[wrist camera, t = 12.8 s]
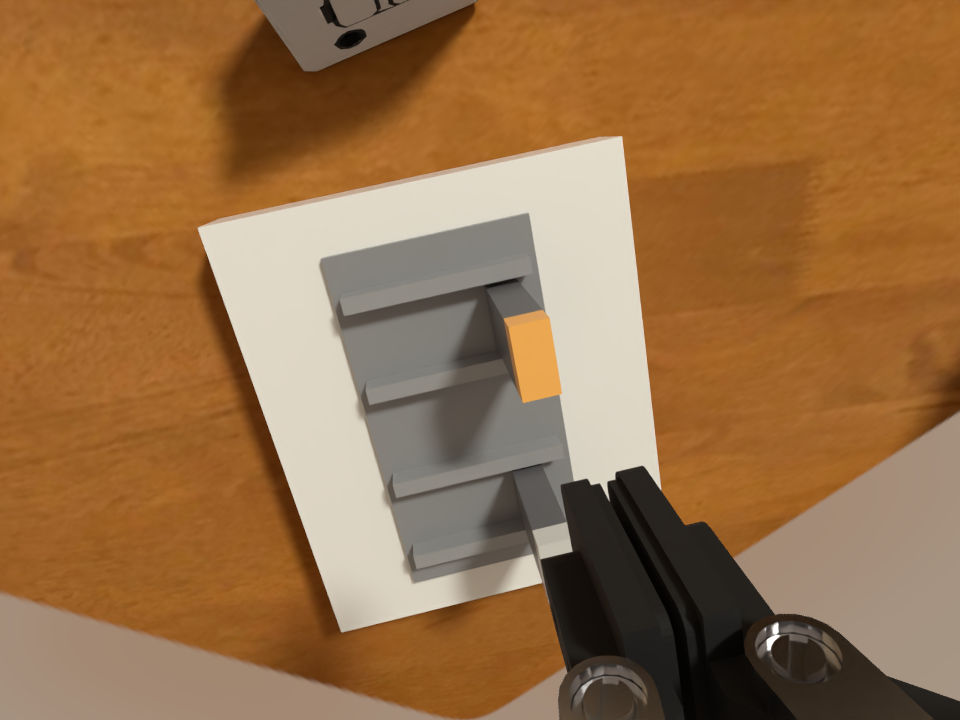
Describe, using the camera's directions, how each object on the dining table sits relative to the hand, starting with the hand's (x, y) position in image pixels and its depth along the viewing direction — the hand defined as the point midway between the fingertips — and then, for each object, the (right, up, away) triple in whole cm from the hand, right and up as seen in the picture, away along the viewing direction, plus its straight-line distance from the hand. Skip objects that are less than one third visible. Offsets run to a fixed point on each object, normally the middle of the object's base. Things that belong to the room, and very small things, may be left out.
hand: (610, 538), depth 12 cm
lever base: (-4, +2, +24) cm, 24 cm away
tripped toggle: (-1, +6, +19) cm, 20 cm away
